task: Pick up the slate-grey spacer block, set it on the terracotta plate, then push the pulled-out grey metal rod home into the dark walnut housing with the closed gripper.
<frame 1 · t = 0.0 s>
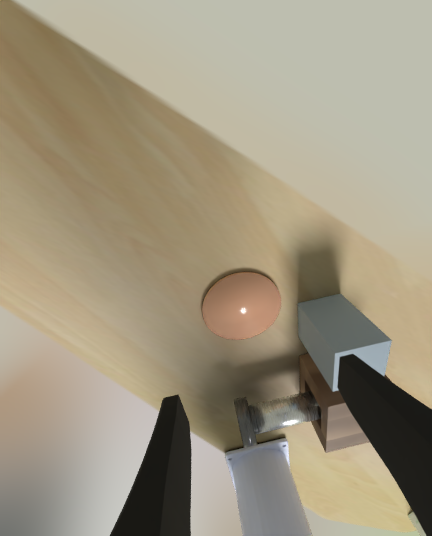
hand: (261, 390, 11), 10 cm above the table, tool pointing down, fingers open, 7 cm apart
plate: (241, 306, 21), on the table
rod: (281, 412, 24), point 3 cm above the table, slide at 6.0 cm
rod housing: (326, 372, 26), on the table
syrup box: (425, 507, 49), on the table
spacer block: (318, 315, 23), on the table
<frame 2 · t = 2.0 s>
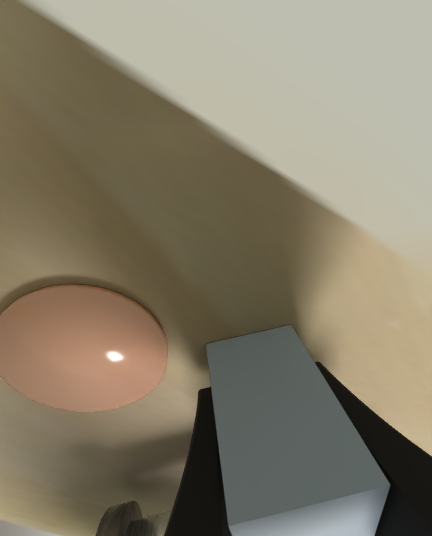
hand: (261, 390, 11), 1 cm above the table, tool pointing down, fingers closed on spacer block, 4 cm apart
plate: (86, 353, 10), on the table
spacer block: (253, 364, 12), on the table, touching gripper
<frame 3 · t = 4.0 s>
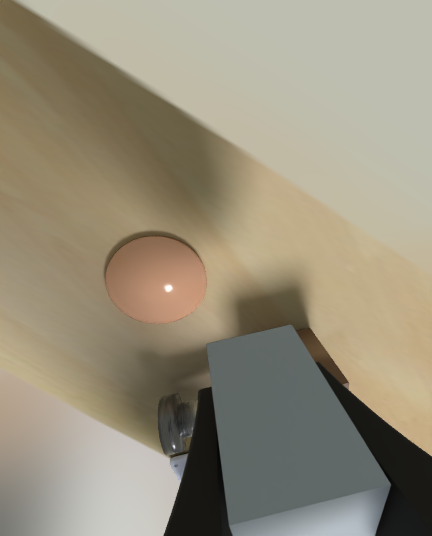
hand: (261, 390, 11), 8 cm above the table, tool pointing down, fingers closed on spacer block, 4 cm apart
plate: (158, 282, 17), on the table
rod: (216, 411, 20), point 3 cm above the table, slide at 6.0 cm
rod housing: (278, 364, 22), on the table
spacer block: (253, 364, 12), point 7 cm above the table, touching gripper
when the fingers open (3 cm above the table, at t = 6.1 s): spacer block drops 1 cm, resting on plate.
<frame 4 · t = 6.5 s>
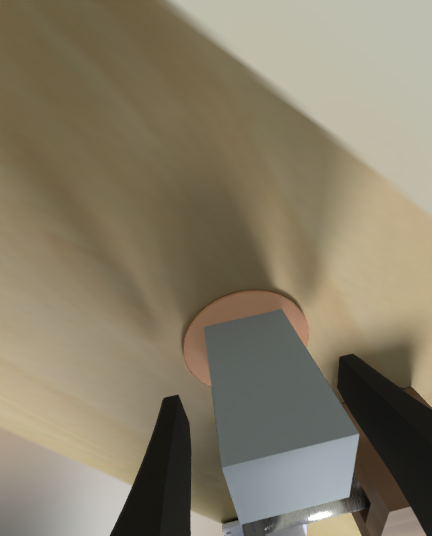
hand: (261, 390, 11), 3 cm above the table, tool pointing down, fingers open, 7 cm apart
plate: (246, 343, 13), on the table
rod: (304, 495, 16), point 3 cm above the table, slide at 6.0 cm
rod housing: (365, 426, 19), on the table
spacer block: (247, 347, 13), resting on plate
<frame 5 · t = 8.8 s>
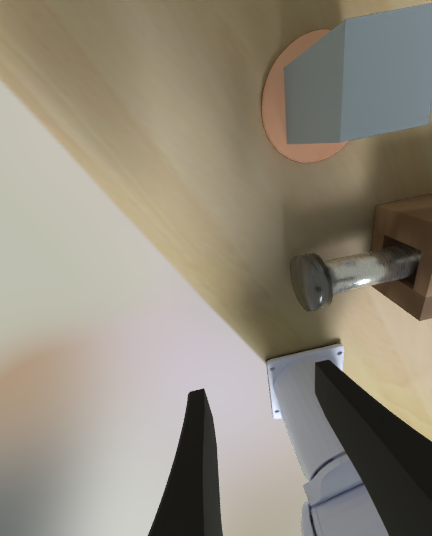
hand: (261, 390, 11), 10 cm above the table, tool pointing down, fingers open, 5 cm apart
plate: (314, 103, 15), on the table
rod: (357, 271, 18), point 3 cm above the table, slide at 6.0 cm
rod housing: (405, 239, 21), on the table
spacer block: (316, 102, 15), resting on plate
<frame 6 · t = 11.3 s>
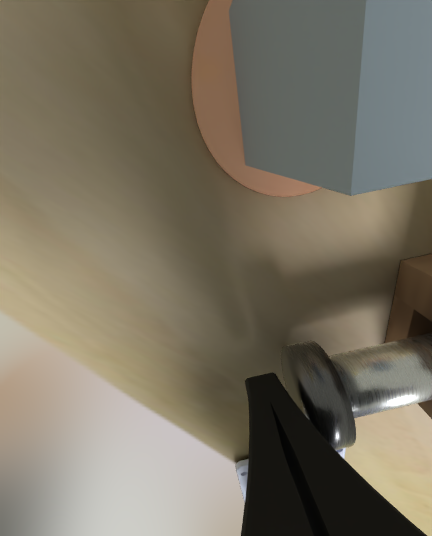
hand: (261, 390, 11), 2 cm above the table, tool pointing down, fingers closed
plate: (295, 88, 8), on the table
rod: (393, 373, 10), point 3 cm above the table, slide at 5.0 cm, touching gripper
spacer block: (299, 85, 8), resting on plate
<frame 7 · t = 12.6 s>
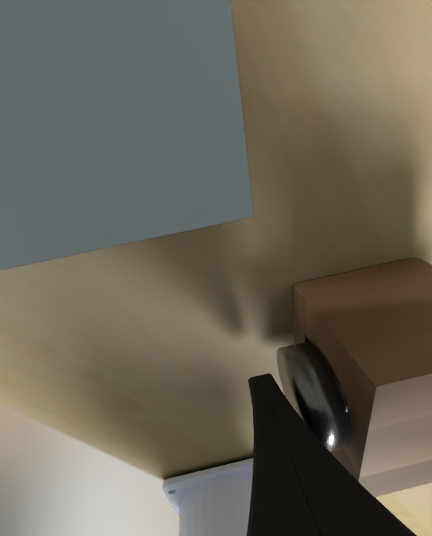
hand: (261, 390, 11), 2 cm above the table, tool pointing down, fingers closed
rod: (389, 374, 10), point 3 cm above the table, slide at -0.1 cm, touching gripper
rod housing: (349, 327, 13), on the table
spacer block: (133, 118, 8), resting on plate
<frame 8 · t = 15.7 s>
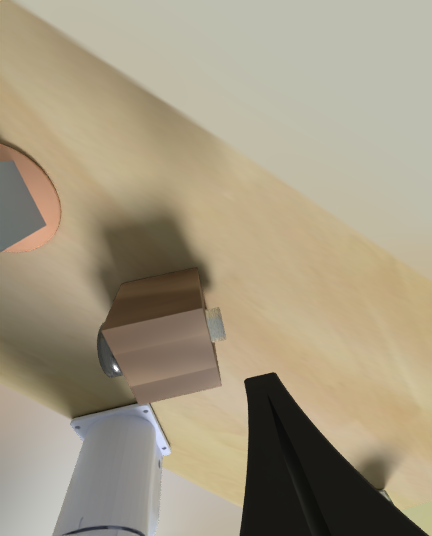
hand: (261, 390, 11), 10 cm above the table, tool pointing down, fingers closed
plate: (2, 200, 16), on the table
rod: (167, 335, 18), point 3 cm above the table, slide at 0.0 cm
rod housing: (171, 310, 21), on the table
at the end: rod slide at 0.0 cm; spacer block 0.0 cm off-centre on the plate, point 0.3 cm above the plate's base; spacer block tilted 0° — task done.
